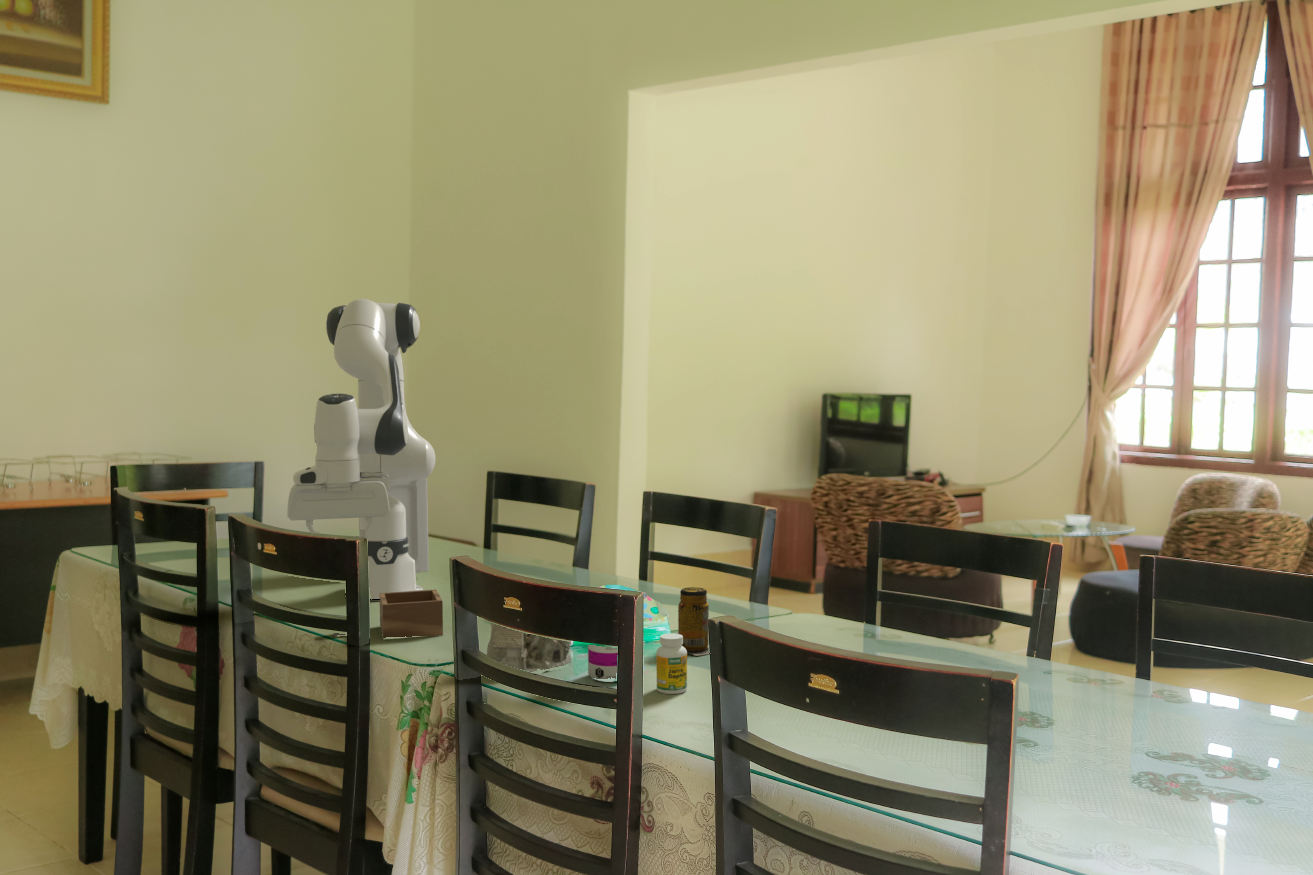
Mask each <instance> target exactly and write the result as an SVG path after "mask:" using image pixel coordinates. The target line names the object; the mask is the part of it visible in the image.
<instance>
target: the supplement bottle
mask: <svg viewBox="0 0 1313 875" xmlns="http://www.w3.org/2000/svg"><path fill="white" fill-rule="evenodd" d="M659 643H660V645H661V646H659V647H658V648H657V649H656V653H655V654H656V655H655V656H656V659H655V660H656V662H655V663H656V665H655V666H656V690H657V692H659V693H661V694H665V695H679V694H683V693H685V692H686V691H687V690H688V653H687V651H686V649H685V648H684V647H683V646H681V645H682V644H683V636H682V635H680V634H678V633H674V632H673V633H670V632H669V633H663V634H660V636H659Z"/></svg>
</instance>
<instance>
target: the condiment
mask: <svg viewBox="0 0 1313 875" xmlns="http://www.w3.org/2000/svg"><path fill="white" fill-rule="evenodd" d="M679 593H680V594H679V595H680V597H679V599H680V601H679V602H678V606H677V608H678V610H677V611H678V612H677V614H678V618H677V624H678V631H677V632H678V633H677V634H680V635H682V636H683V644H682V645H681V646H683V647H684V648H685V649H686V651H687V655H688V654H689V655H693V656H698V657H699V656H704V655H709V646H710V645H709V643H710V642H709V638H708V636H709V635H708V634H709V629H708V623H709V622H708V621H710V619H709V617H710V616H709V615H710V613H709V610H710V609H709V608H710V606H709V602H707V599H708V597H707V596H708V595H707V594H708V591H707V589H706V588H704V587H703V588H702V587H696V586H695V587H694V586H692V587H690V586H689V587H688V586H687V587H684V588H681V590H680V592H679Z"/></svg>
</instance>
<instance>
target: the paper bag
mask: <svg viewBox="0 0 1313 875" xmlns="http://www.w3.org/2000/svg"><path fill="white" fill-rule="evenodd" d="M387 494H388V495H389V496H391V497H393V498H395V499H397V500H399V501H400V502H401V503H402V504H403V505H404V507H405V509H406V537H408V542H409V546H408V550H409V551H408V554H409V556H410V557H411V558H413V560H414V561H415V574H418V572H419V573H423V572H424V571H425V572H429V570H430V568H429V567H430V565H429V564H430V562H429V561H430V560H429V512H428V511H429V505H428V477H427V478H424V479H420V480H415V481H410V482H390V490H389V492H388V493H387ZM358 527H359V528H358V531H359V530H360V522H359V521H358ZM358 534H359V537H360V533H358Z"/></svg>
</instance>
